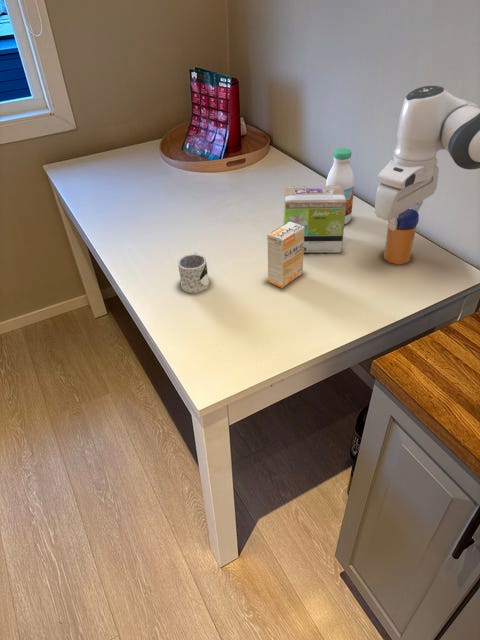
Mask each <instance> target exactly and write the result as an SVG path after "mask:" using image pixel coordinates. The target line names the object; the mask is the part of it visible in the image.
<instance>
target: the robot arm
mask: <svg viewBox="0 0 480 640" xmlns="http://www.w3.org/2000/svg"><path fill="white" fill-rule="evenodd" d="M399 113H400V114H399V116H398V117H399V118H398V123H397V129H396V137H397V141H396V146H395V148H394V150H393V156H392V158H391V159H390V160H389V162H388V163H387V164H386V166H385V167H384V168H383V169H382V170H381V171H380V172H379V173H378V175H377V182H378V183H379V185H378V187H377V190H376V195H375V202H374V214H375V216H376V218H379V219H381V220H384V221H387V222H388V221H389V222H388V224H389V229H390V230H393V231H394V230H396V229H397V228H398V227H399V222H397V218H398V216H399V214H401V213H402V212H404V211H406V210H407V209H412V210H414V211H416V212H417V213H418V214H419V211H420V209H421V208H422V206H423V203H424V201H425V200H426V199H428V198H429V197H431V196H433V195H435V192H436V191H437V187H438V182H439V181H438V180H439V175H440V173H439V172H440V170H439V169H440V168H439V166H438V159H437V153H438V152H439V151H441V150H445V151H447V152H448V154H449V156H450V157H451V159H452V161H453V162H454V163H455V164H456V165H457V166H458V167H459V168H462V169H464V170H479V169H480V106H479V105H477V104H476V103H475V102H473V101H470V100H467V99H462V98H459V97H457V96H455V95H453V94H451V93H450V92H448V91H447V89H445V88H444V87H443V86H440V85H424V86H420V87H417V88H415V89H413V90H411V91H410V92H409V93H408V94H406V96H405V97H404V100H403V103H402V105H401V109H400V112H399Z"/></svg>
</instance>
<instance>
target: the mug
mask: <svg viewBox="0 0 480 640" xmlns="http://www.w3.org/2000/svg"><path fill="white" fill-rule="evenodd" d="M177 266H178V267H177V268H178V272H179V277H180V278H179V279H180V285H181V289H182V291H184V292H186V293H189V294H197V293H201V292H204V291H205V290H207V289H208V288H209V285H210V282H209V274H208V265H207V258H206V257H205V256H203V255H201V254H198V252H193V253H192V254H186V255H183V256H181V257H180V258H179V260H178V261H177Z"/></svg>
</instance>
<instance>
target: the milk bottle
mask: <svg viewBox="0 0 480 640" xmlns="http://www.w3.org/2000/svg"><path fill="white" fill-rule="evenodd" d="M351 159H352V150H351V149H349V148H346V147H339V148H336V149H334V150H333V164H332V166H331V168H330V171H329V172H328V174H327V177H326V182H325V186H339V185H342V188H343V191H344V195H345V199H346V213H345V221H344V225H347V224H348V223H350V221H351V220H352V215H353V205H354V192H355V175H354V172H353V170H352V167H351Z"/></svg>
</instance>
